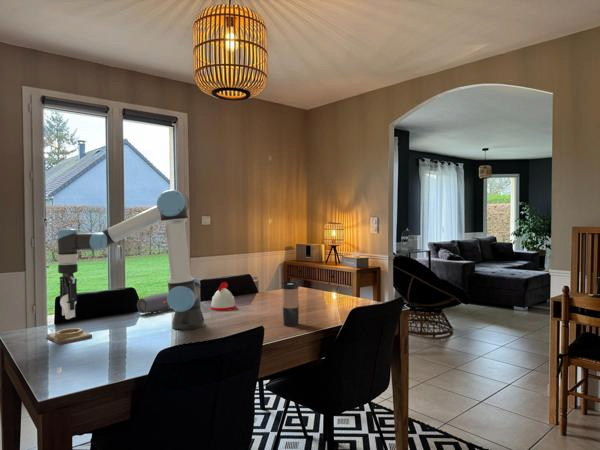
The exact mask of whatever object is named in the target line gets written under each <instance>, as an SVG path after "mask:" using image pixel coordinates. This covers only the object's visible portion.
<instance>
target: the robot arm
mask: <svg viewBox="0 0 600 450" xmlns="http://www.w3.org/2000/svg"><path fill="white" fill-rule="evenodd" d="M189 207H190V201H189V198H188V196H187V195H186V194H185V193H183V192H182V191H179V190H176V189H169V190H167V189H166V190H165V191H163V192H161V193H160V194H159V196H158V197H157V200H156V205H155V206H153V207H150V208H149V209H147V210H144V211H142V212H140V213H138V214H135V215H134V216H131V217H129V218H128V219H125V220H123V221H121V222H119V223H116V224H114V225H112V226H110V227H108V228H107V229H103V230H102V231H99V232H85V233H84V232H83V233H82V232H78V229H77V228H60V229H59V230H58V231H57V264H58V265H57V272H58V273H59V274H60V276H59V299H61V298H62V297H63V296H64V295H67V294H68V302H67V303H68V318H71V319H72V318H75V317H76V305H75V302H76V303H77V302H78V291H77V290H78V288H77V285H78V284H77V283H78V281H77V280H78V278H75V275H74V274H75V273H77V272H78V271H79V270H78V265H79V264H78V258H79V255H78V251H100V250H101V251H103V250H105V249H106V248H109V247H110V246H112V245H113V244H115V243H117V242H120V241H121V240H124V239H127V238H128V237H130V236H132V235H134V234H136V233H138V232H141V231H144V230H145V229H147V228H149V227H153V226H154V225H156V224H158V223H160V222H161V223H162V224H164V227H165V235H166V237H165V238H166V245H167V246H166V247H167V255H168V256H167V257H168V264H169V274H170V278H169V280H168V281H167V289H168V290H167V291H168V292H169V293H168V296H167V302H168V305H169V306H170V307H171V308H170V309H171V310H173V311H174V315H173V318H172V319H173V320H172V322H171V327H172V329H174V330H183V331H184V330H194V329H199V328H202V327H204V326H205V318H204V316H203V312H202V310H201V308H202V307H201V280H200V278H198V277H197V278H195V277H193V276H192V275H191V269H190V259H189V250H188V248H189V247H188V241H187V239H188V238H187V231H186V229H187V228H186V224H185V223H186V222H187V221H188V218H189V217H188V210H189ZM61 274H62V276H61ZM61 315H62V316H64V317H65V312H64V309H63V308H62V307H61Z"/></svg>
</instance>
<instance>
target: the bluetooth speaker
mask: <svg viewBox="0 0 600 450" xmlns="http://www.w3.org/2000/svg"><path fill="white" fill-rule="evenodd" d="M168 293H169V291H168V292H162V293H156V294H151V295H147V296H144V297H141V298H139V299H138V300H137V303H136V307H137V310H138V312H139V313H140V314H149V313H150V312H151V313H150V314H155V313H154V312H158V313H160V312H159V311H162V312H165V310H166V311H168V310H169V309H172V308H171V307H170V306H169V305H168V302H167V296H168Z"/></svg>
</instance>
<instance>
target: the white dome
mask: <svg viewBox="0 0 600 450" xmlns="http://www.w3.org/2000/svg"><path fill="white" fill-rule="evenodd" d="M228 285H229V284H228V283H227V282H225V281H224V282H221V283H220V284H219V287H217V289H218V290H217V291H216V292H214V295H213V296H212V297H211V303H210V310H212V311H215V312H224V311H225V312H226V311H231V310H235V309H236V302H235V296H234V295H233V294H232V292H231V291H230V290H229V289H228V287H229V286H228Z"/></svg>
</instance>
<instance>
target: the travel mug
mask: <svg viewBox="0 0 600 450" xmlns="http://www.w3.org/2000/svg"><path fill="white" fill-rule="evenodd" d="M299 303H300V302H299V283H298V282H297V281H295V282H294V281H289V282H288V281H287V282H282V318H283V322H282V323H283V326H285V327H297V326H298V325H299V311H300V305H299Z"/></svg>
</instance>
